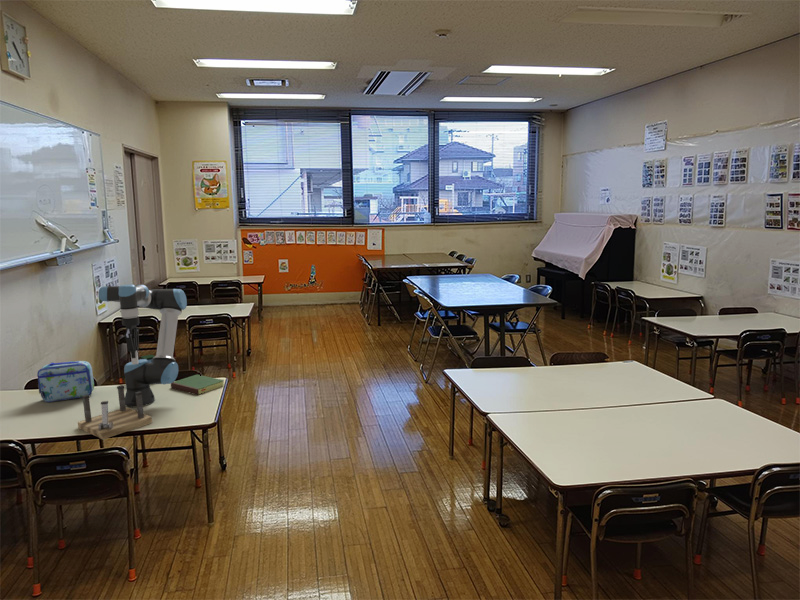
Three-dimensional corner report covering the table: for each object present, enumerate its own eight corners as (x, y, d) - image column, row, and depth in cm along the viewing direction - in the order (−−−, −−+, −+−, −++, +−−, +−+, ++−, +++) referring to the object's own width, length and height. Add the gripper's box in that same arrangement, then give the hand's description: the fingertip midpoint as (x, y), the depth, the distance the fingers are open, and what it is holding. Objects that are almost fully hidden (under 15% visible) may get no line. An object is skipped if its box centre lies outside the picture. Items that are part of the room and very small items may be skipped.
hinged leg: (109, 427, 259) (108, 429, 257) (103, 428, 259) (102, 429, 257) (108, 400, 259) (106, 402, 257) (102, 401, 259) (100, 402, 256)
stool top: (78, 427, 268) (74, 396, 265) (126, 412, 287) (123, 383, 284) (102, 439, 254) (99, 406, 251) (152, 422, 273) (149, 391, 270)
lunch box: (38, 404, 301) (33, 367, 298) (44, 397, 311) (39, 362, 308) (92, 398, 309) (88, 362, 306) (96, 392, 319) (91, 357, 316)
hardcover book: (171, 388, 325) (170, 382, 325) (197, 380, 341) (197, 374, 340) (198, 395, 312) (198, 389, 311) (225, 386, 328) (224, 380, 327)
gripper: (127, 314, 272) (132, 360, 276) (116, 320, 259) (122, 368, 264) (142, 313, 273) (147, 359, 277) (133, 319, 260) (138, 367, 264)
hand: (135, 363), depth 270 cm, fingers closed
